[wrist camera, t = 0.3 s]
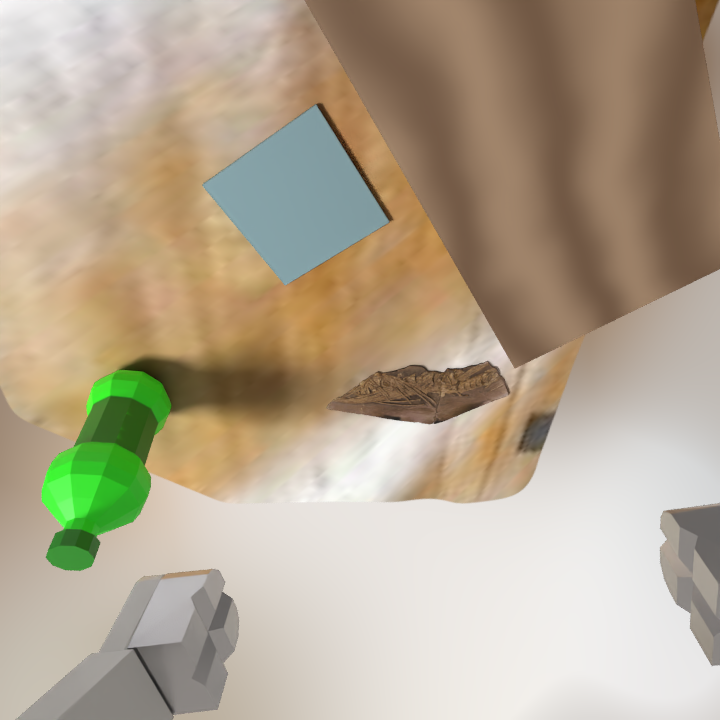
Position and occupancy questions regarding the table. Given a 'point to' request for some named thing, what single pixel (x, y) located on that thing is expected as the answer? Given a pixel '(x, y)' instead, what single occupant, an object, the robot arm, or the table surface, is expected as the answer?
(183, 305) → the table surface
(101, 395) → the plastic bottle
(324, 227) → the teal mat
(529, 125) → the walnut shelf
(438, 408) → the wooden fragment
